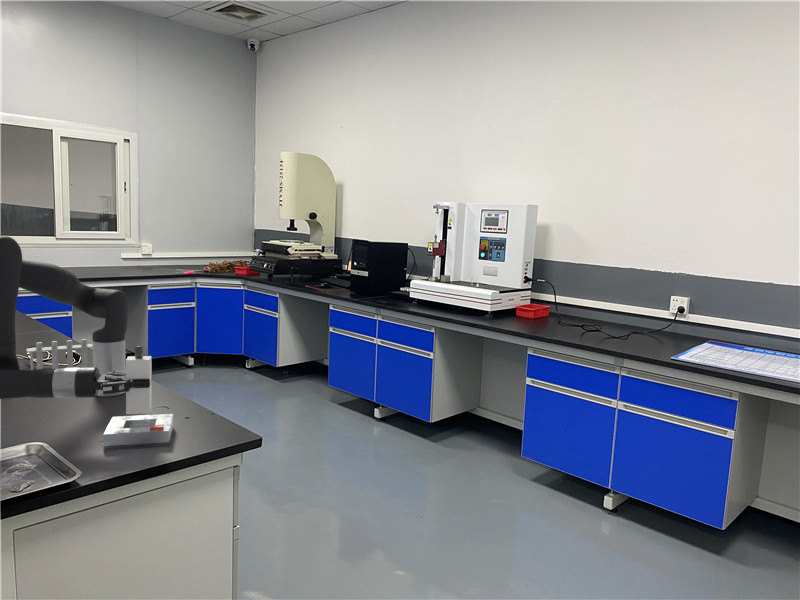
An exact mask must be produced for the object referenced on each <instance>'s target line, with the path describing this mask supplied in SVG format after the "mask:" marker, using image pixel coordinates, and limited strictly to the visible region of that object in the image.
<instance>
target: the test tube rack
mask: <svg viewBox="0 0 800 600" xmlns="http://www.w3.org/2000/svg"><path fill="white" fill-rule="evenodd" d="M80 343H81V344H73V340H71V339H70V340H69V339H67V340H66V345H61V346H60V345H59V346H58V341H57V340H53V341H51V346H47V347H46V346H45V347H43V342H42V341H39V342H36V343H35V346H36V347H32V348H26V353H29V359H30V360H29V361H30V370H35V369H34V368H35V367H34V353H36V357H35V358H36V369H44V361H43V357H44V356H43V352H51V362H52V363H51V366H52V368H51V369H59V353H58V351H63V350H64V351H65V350H66V366H67V367H66V368H68V367H74V357H73V356H74V353H73V350H76V349H77V350H78V349H80V350H81V367H89V365H88V349H90V348H91V349H93V343H88V340H87V339H86V338H82V339H81V341H80Z"/></svg>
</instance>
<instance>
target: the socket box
mask: <svg viewBox="0 0 800 600" xmlns="http://www.w3.org/2000/svg"><path fill="white" fill-rule="evenodd" d="M173 431H174V413H165V414H164V413H163V414H160V413H159V414H136V415H123V416H121V415H119V416H112V417H111V419H110V421H109V423H108V424H107V426H106V429H105V431H104V432H103V434H102V439H103V441H102V442H103V443H102V444H103V451H107V450H108V451H109V450H111V451H112V450H123V449H126V450H127V449H128V450H129V449H141V448H142V449H144V448H159V447H161V448H162V447H169V446H170V444H171V439H172V434H173Z"/></svg>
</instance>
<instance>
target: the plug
mask: <svg viewBox="0 0 800 600" xmlns="http://www.w3.org/2000/svg"><path fill="white" fill-rule="evenodd" d="M143 347H144V346H143V345H135V346H134V355H133V356H132V355H131V356H127V358H125V366H126V379H133V381H134V379H150V387H149V388H134V387H133V389H132V390H130V389H129V390H130V391H128V392H125V404H126V405H125V408H126V409H125V414H126V415H149V414H150V413H151V411H152V408H153V407H152V405H153V404H152V402H153V401H152V397H153V394H152V389H153V388H152V386H153V385H152V382H153V374H152V362H153V361H152V356H151V355H148V356H145V355H144V352H143V350H144V348H143Z"/></svg>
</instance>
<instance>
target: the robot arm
mask: <svg viewBox="0 0 800 600" xmlns="http://www.w3.org/2000/svg"><path fill="white" fill-rule="evenodd" d="M19 289H23V290H26V291H28V292H31V293H34V294H36V295H39V296H41V297H43V298H46V299H48V300H51V301H54V302H56V303H57V302H58V303H60V304H64V305H68V306H72V307H74V308H76V309H78V310H79V311H81V312H84V313H85V314H87V315H89V316H91V317H93V318H98V319H105V321H104V326H103V327H102V328H98V329H95V330H94V331H93V332H92V335H91V336H92V339H91V340H92V342H91V343H92V344H93V348H92V366H88V367H82V366H81V367H80V366H77V367H75V366H73V367H68V368H67V367H61V368H59V367H58V369H52V368H43V369H37V368H36V369H34V370H31V369H30V370H29V369H20V364H19V361H18V356H17V352H16V351H17V345H16V344H17V338H16V309H17V303H18V297H19ZM128 312H129V303H128V298H127V296H126V293H125V292H124V291H122V290H119V289H110V288H100V287H99V288H97V287H93V286H89V285H87V284H84V283H81V281H80V279H79V278H78V276H76V275H75V274H74V273H73V272H71V271H70V270H68V269H65V268H63V267H61V266H58V265H55V264H53V263H48V262H45V261H37V260H31V259H23V253H22V249H21V246H20V244H19V243H18V242H17V241H16V240H15V239H14V238H13V237H11V236H8V235H0V400H5V399H18V398H19V399H20V398H35V399H36V398H38V399H42V398H44V399H45V398H46V399H49V398H59V399H61V398H62V399H74V398H75V399H77V398H80V399H81V398H82V399H83V398H96V397H103V398H104V397H116V396H120V395H124V394H126V392H128V391H130V390H132V389H133V387H134V388H149V387H150V379H134V381H133V379H126V334H127V329H128V316H129V314H128ZM129 389H130V390H129Z"/></svg>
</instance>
